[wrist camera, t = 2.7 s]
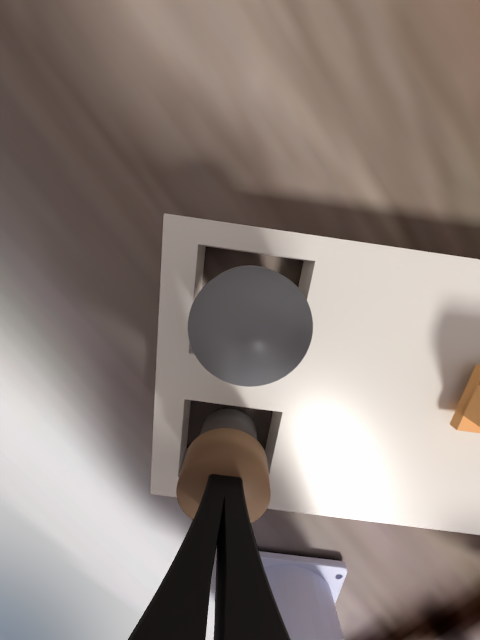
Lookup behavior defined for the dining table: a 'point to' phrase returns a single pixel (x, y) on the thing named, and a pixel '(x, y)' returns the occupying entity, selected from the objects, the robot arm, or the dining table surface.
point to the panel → (340, 378)
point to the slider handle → (469, 406)
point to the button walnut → (225, 462)
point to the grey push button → (250, 326)
